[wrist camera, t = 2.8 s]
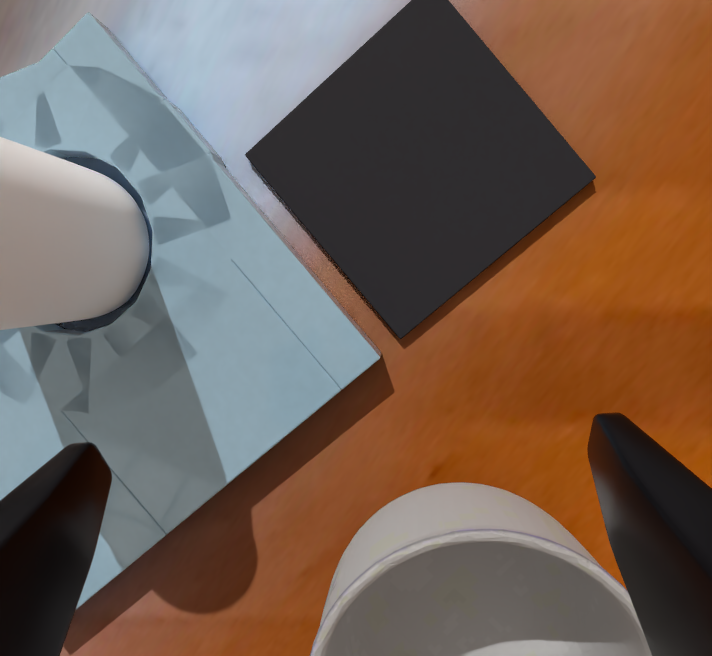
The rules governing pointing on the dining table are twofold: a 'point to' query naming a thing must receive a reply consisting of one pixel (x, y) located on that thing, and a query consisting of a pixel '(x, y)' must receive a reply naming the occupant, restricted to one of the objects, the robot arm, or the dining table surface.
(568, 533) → the teacup
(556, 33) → the dining table surface
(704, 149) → the dining table surface
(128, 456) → the light blue flat square
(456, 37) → the mat
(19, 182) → the can
